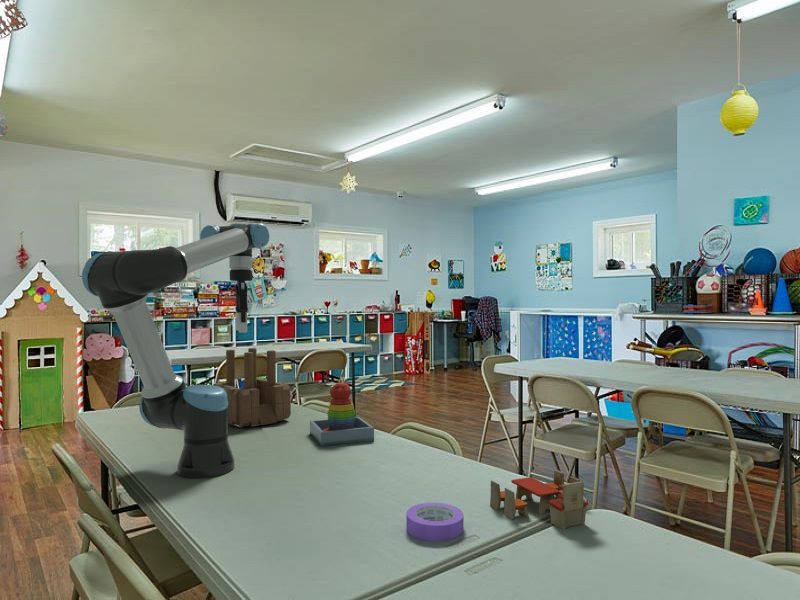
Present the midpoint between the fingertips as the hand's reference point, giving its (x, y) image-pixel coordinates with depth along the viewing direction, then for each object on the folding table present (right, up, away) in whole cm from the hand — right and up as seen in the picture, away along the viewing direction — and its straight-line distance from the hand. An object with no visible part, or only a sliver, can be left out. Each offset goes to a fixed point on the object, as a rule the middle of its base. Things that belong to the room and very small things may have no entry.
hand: (241, 331), depth 184 cm
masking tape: (+61, -37, -74) cm, 103 cm away
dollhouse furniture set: (+86, -37, -66) cm, 115 cm away
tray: (+34, -36, +1) cm, 50 cm away
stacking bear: (+34, -36, +1) cm, 49 cm away
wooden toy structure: (-6, -37, +33) cm, 50 cm away
